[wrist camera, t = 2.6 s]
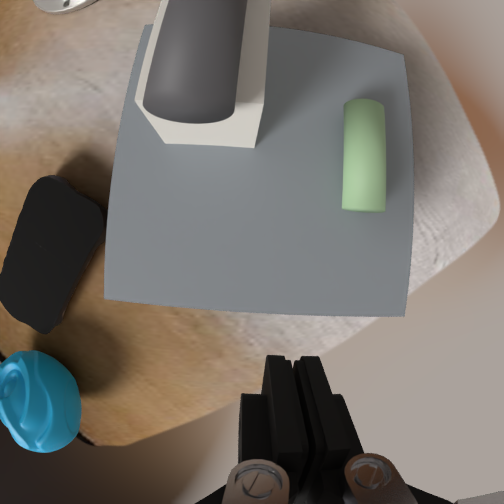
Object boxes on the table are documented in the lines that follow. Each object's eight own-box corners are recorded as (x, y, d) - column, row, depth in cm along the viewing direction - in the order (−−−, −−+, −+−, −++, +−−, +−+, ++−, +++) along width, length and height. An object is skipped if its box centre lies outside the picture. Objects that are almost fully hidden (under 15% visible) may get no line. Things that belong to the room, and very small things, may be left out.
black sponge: (60, 162, 25) (39, 165, 21) (124, 213, 27) (108, 222, 23) (9, 284, 28) (-9, 297, 25) (60, 330, 30) (45, 347, 27)
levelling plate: (152, 44, 19) (108, -68, 7) (388, 70, 20) (470, -15, 8) (119, 291, 19) (8, 343, 8) (385, 307, 20) (504, 361, 9)
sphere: (60, 323, 29) (5, 385, 18) (115, 399, 33) (85, 471, 22) (7, 347, 31) (-40, 397, 19) (56, 411, 34) (24, 468, 23)
